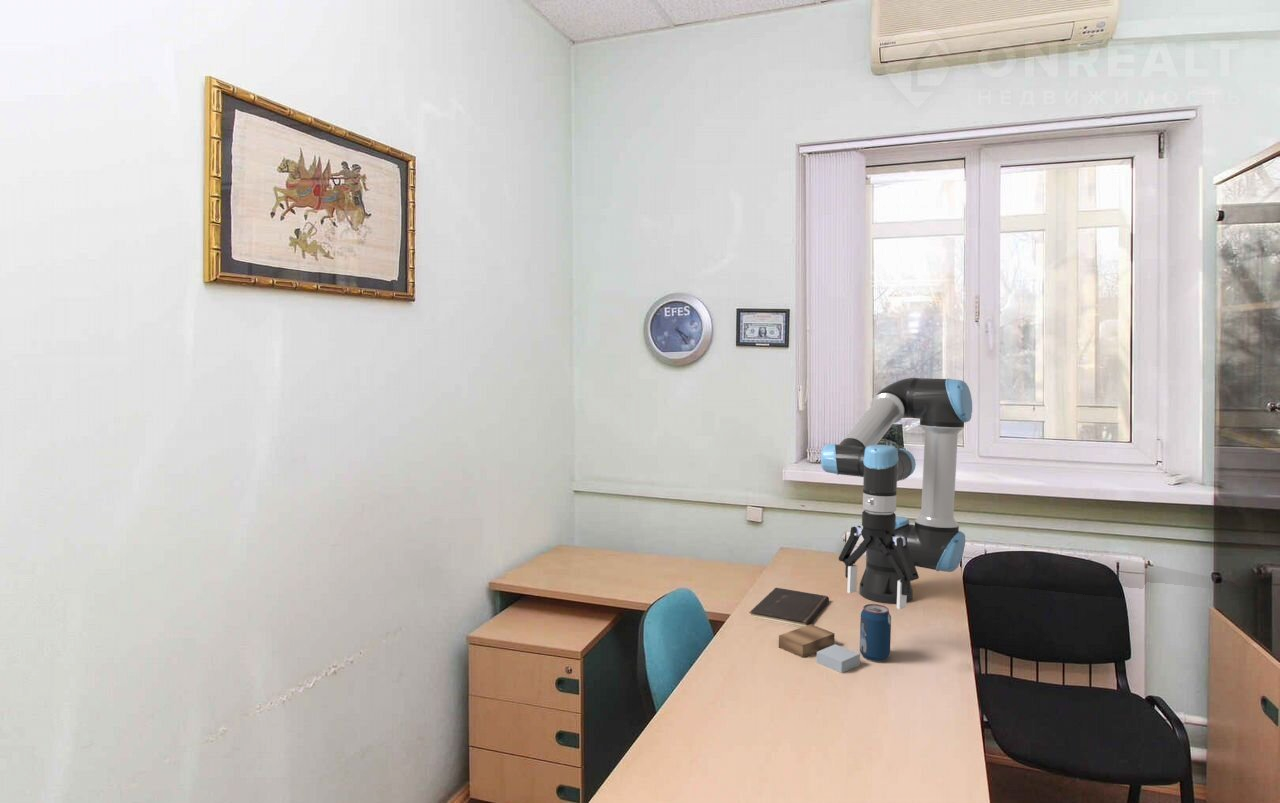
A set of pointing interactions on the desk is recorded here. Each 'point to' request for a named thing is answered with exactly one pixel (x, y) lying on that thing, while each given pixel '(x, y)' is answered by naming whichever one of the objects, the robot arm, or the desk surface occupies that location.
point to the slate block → (838, 658)
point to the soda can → (875, 632)
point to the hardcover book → (790, 607)
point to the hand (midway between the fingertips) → (875, 599)
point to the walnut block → (806, 640)
